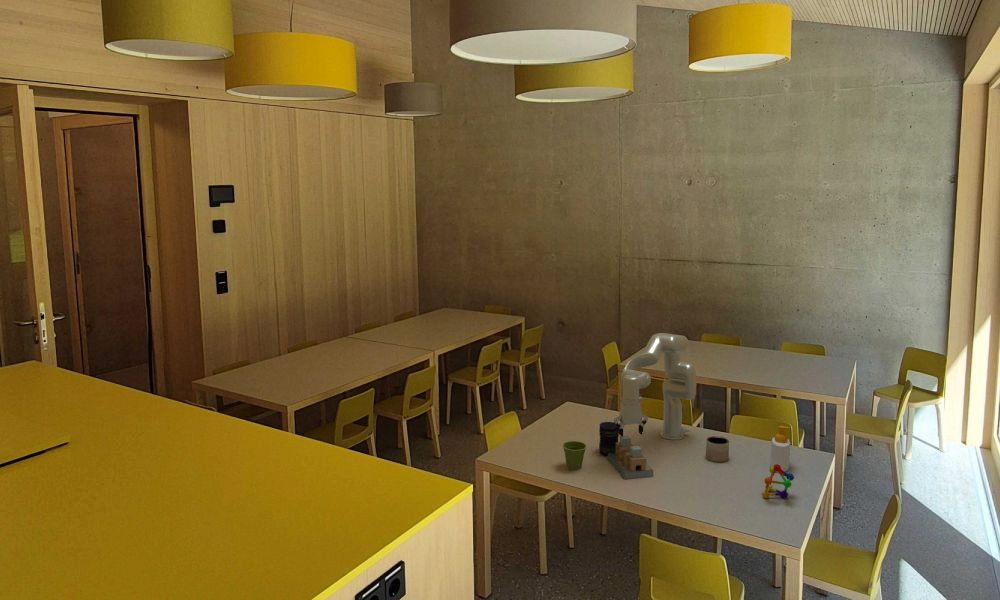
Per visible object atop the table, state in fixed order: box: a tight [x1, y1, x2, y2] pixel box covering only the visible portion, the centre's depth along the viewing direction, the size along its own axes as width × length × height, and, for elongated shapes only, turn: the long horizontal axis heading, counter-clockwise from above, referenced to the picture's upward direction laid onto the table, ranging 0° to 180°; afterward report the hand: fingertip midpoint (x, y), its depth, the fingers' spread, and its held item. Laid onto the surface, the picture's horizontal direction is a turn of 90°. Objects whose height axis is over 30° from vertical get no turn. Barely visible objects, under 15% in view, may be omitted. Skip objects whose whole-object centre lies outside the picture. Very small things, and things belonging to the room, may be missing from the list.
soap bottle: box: [770, 425, 791, 472], centre depth 329 cm, size 13×8×20 cm, turn 160°
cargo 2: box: [630, 445, 642, 458], centre depth 325 cm, size 4×4×4 cm
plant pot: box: [561, 440, 588, 471], centre depth 334 cm, size 12×12×11 cm
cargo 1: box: [619, 435, 632, 447], centre depth 339 cm, size 4×4×4 cm
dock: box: [607, 453, 654, 480], centre depth 333 cm, size 14×24×3 cm, turn 10°
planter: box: [705, 435, 730, 463], centre depth 342 cm, size 11×11×10 cm
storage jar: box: [598, 421, 620, 458], centre depth 350 cm, size 10×10×15 cm
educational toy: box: [761, 464, 795, 499], centre depth 301 cm, size 16×13×15 cm
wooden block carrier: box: [616, 441, 647, 471], centre depth 333 cm, size 22×7×6 cm, turn 10°
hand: (630, 434), depth 331 cm, fingers open, 9 cm apart
